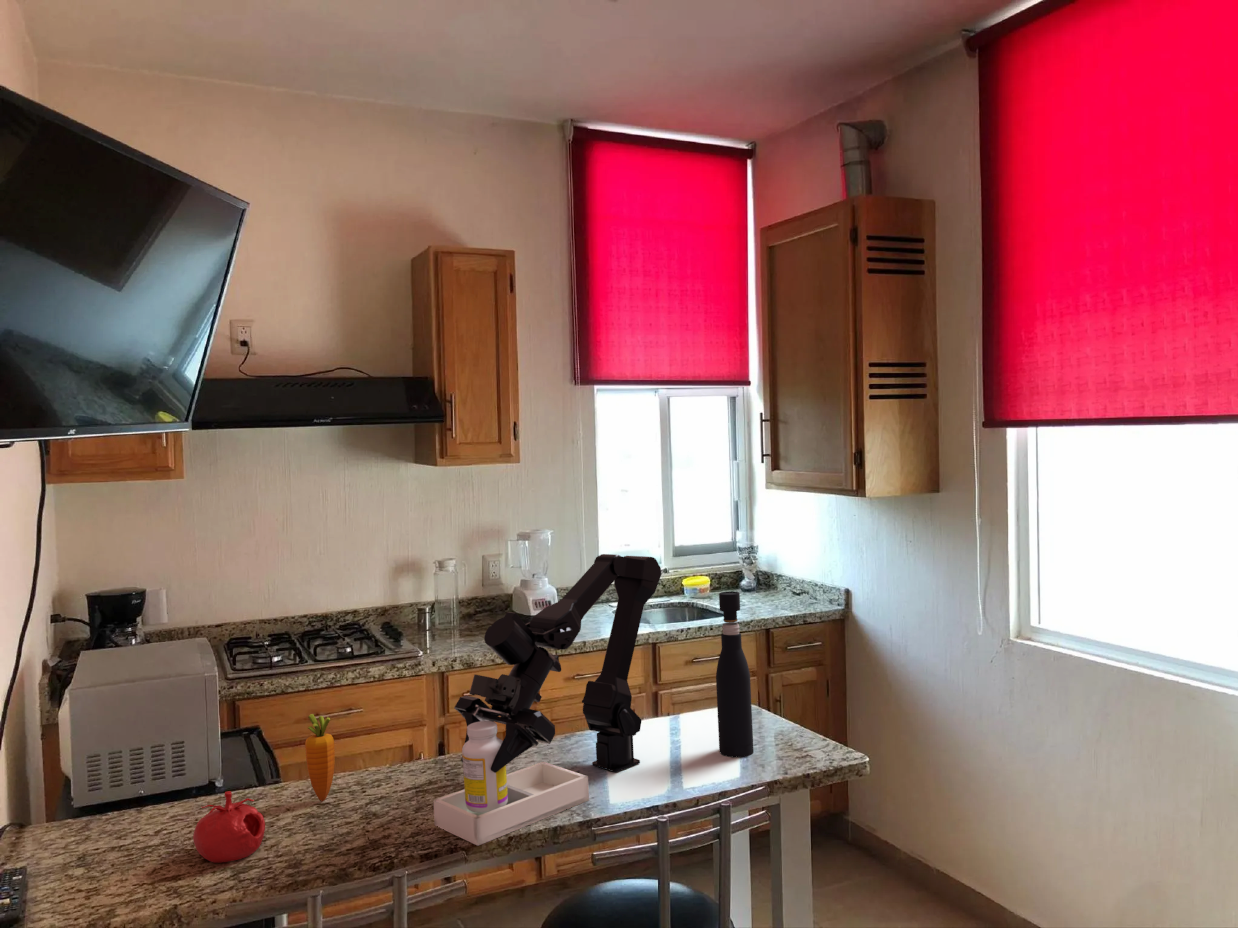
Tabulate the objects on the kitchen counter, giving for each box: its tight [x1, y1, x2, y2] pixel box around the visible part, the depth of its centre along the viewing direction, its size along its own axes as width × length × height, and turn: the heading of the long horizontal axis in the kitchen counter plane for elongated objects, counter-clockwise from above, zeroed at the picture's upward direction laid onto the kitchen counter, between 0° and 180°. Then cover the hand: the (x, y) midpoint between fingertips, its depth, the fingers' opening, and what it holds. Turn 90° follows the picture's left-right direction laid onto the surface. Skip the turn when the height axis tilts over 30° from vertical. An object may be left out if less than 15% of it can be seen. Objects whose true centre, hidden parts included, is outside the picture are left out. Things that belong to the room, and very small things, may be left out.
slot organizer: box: [433, 761, 590, 847], centre depth 146 cm, size 22×12×4 cm, turn 134°
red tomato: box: [192, 790, 266, 864], centre depth 136 cm, size 10×10×9 cm
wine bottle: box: [715, 591, 754, 758], centre depth 171 cm, size 6×6×30 cm
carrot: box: [304, 713, 336, 802], centre depth 155 cm, size 5×5×15 cm
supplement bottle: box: [461, 721, 508, 813], centre depth 143 cm, size 7×7×13 cm
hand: (477, 766), depth 142 cm, fingers closed on supplement bottle, 7 cm apart
